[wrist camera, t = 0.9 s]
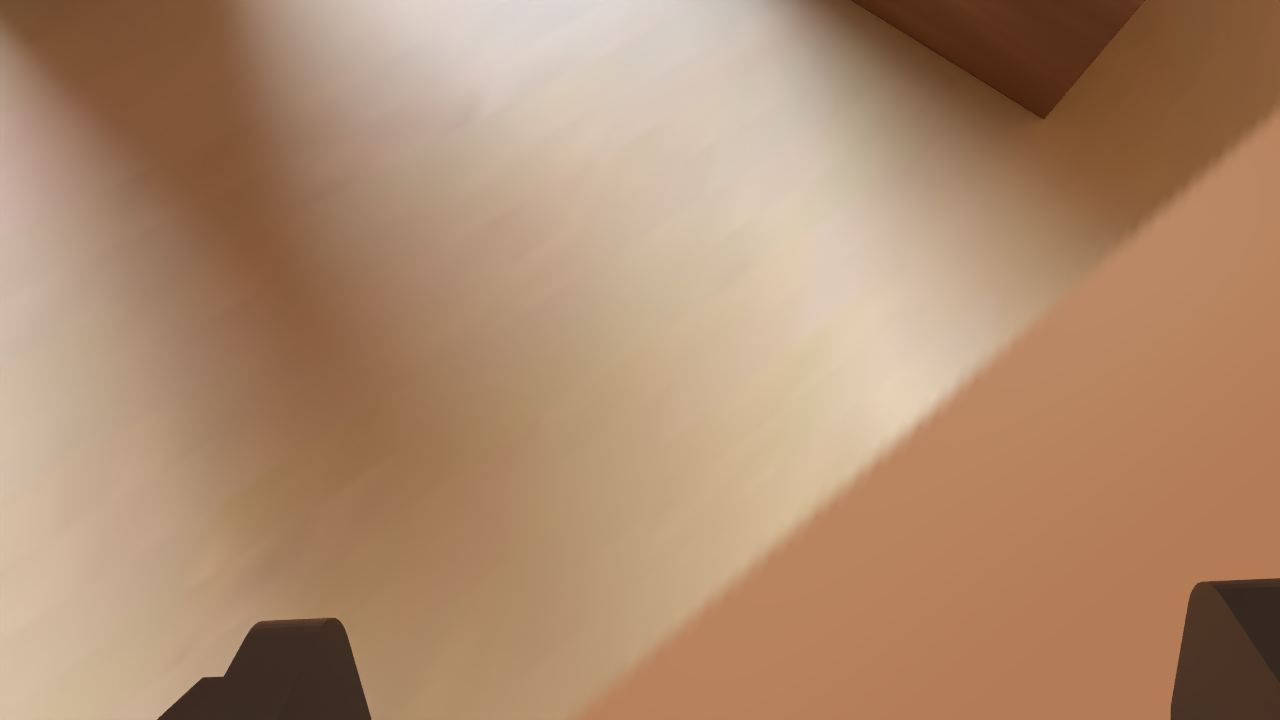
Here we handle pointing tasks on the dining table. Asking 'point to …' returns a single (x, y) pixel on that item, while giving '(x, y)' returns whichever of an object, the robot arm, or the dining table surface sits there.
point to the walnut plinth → (1013, 39)
